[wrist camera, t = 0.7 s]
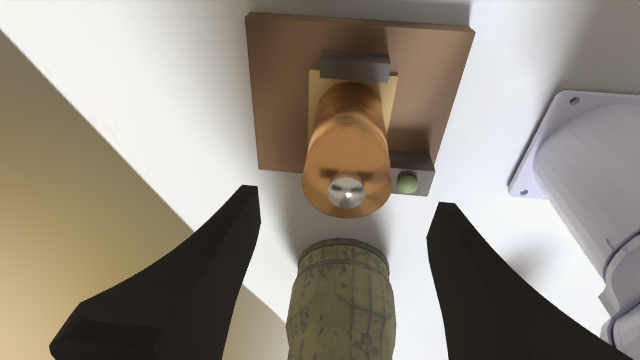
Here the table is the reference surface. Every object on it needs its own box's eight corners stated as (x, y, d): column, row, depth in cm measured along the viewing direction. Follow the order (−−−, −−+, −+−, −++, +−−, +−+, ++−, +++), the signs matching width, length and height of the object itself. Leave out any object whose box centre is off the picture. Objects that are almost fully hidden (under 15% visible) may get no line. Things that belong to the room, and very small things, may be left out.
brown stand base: (469, 26, 18) (490, 46, 15) (425, 173, 24) (434, 207, 21) (250, 12, 19) (231, 28, 16) (262, 159, 25) (250, 190, 22)
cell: (387, 84, 19) (401, 160, 13) (377, 144, 21) (385, 230, 15) (317, 79, 19) (300, 152, 13) (315, 139, 22) (299, 223, 16)
